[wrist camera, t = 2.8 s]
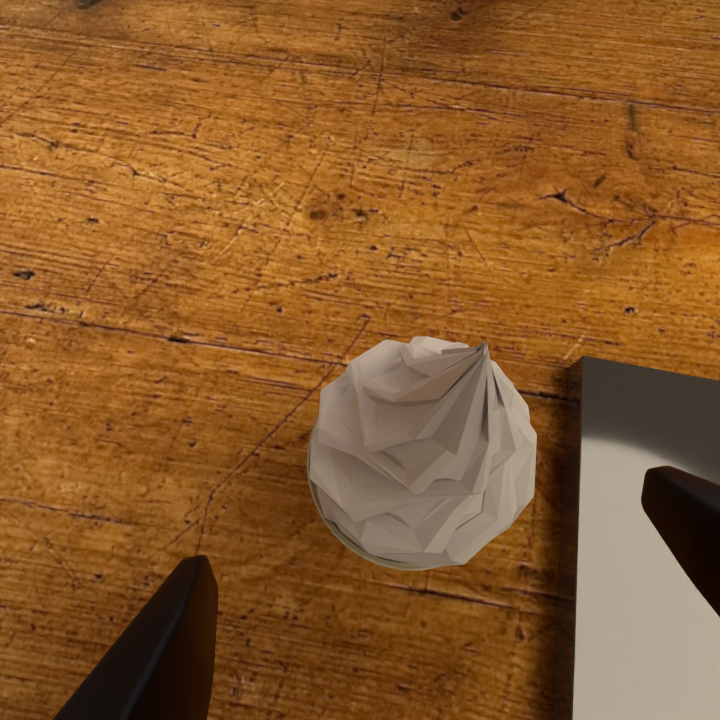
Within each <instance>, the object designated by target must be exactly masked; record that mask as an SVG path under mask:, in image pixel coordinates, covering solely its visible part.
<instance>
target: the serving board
mask: <svg viewBox="0 0 720 720" xmlns="http://www.w3.org/2000/svg"><path fill="white" fill-rule="evenodd" d="M665 465H668V466H672V467H675V468H677V469H680V470H683V471H685V472H688V473H690V474H693V475H696V476H698V477H701V478H703V479H706V480H709V481H711V482H714V483H716V484H719V485H720V381H717V380H712V379H706V378H701V377H696V376H690V375H685V374H680V373H674V372H669V371H663V370H658V369H653V368H647V367H642V366H637V365H631V364H626V363H621V362H615V361H610V360H604V359H599V358H594V357H588V356H582V357H581V358H579V359H578V360H577V361H576V362H574V363H573V364H572V365H571V366H570V367H569V368H568V386H567V409H566V431H565V453H564V476H563V498H562V521H561V543H560V566H559V588H558V611H557V633H556V655H555V678H554V700H553V720H720V617H719V616H718V615H717V613H716V612H715V611H714V610H713V608H712V607H711V606H710V605H709V603H708V602H707V601H706V600H705V598H704V597H703V596H702V595H701V593H700V592H699V591H698V590H697V588H696V587H695V586H694V584H693V583H692V582H691V580H690V579H689V578H688V576H687V575H686V573H685V572H684V570H683V569H682V568H681V566H680V565H679V563H678V562H677V560H676V559H675V557H674V556H673V554H672V553H671V551H670V549H669V548H668V546H667V545H666V543H665V542H664V540H663V539H662V537H661V536H660V534H659V533H658V531H657V530H656V528H655V527H654V525H653V524H652V522H651V521H650V519H649V518H648V516H647V515H646V513H645V512H644V510H643V507H642V504H641V495H642V489H643V483H644V477H645V473H646V471H647V470H648V469H650V468H654V467H659V466H665Z"/></svg>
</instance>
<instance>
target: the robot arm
mask: <svg viewBox="0 0 720 720" xmlns="http://www.w3.org/2000/svg"><path fill="white" fill-rule="evenodd" d="M641 504H642V507H643V510H644V512H645V513H646V515H647V516H648V518H649V519H650V521H651V522H652V524H653V525H654V527H655V528H656V530H657V531H658V533H659V534H660V536H661V537H662V539H663V540H664V542H665V543H666V545H667V546H668V548H669V549H670V551H671V553H672V554H673V556H674V557H675V559H676V560H677V562H678V563H679V565H680V566H681V568H682V569H683V570H684V572H685V573H686V575H687V576H688V578H689V579H690V580H691V582H692V583H693V584H694V586H695V587H696V588H697V590H698V591H699V592H700V593H701V595H702V596H703V597H704V598H705V600H706V601H707V602H708V603H709V605H710V606H711V607H712V608H713V610H714V611H715V612H716V613H717V615H718V616H719V617H720V485H719V484H716V483H714V482H711V481H709V480H706V479H703V478H701V477H698V476H696V475H693V474H690V473H688V472H685V471H683V470H680V469H677V468H675V467H672V466H668V465H665V466H659V467H654V468H650V469H648V470H647V471H646V473H645V477H644V483H643V489H642V495H641ZM217 609H218V586H217V582H216V579H215V577H214V574H213V571H212V568H211V566H210V563H209V560H208V558H207V557H206V556H205V555H196V556H191V557H186V558H184V559H183V560H181V562H180V563H179V564H178V565H177V566H176V568H175V569H174V570H173V571H172V573H171V574H170V575H169V576H168V578H167V579H166V580H165V581H164V582H163V584H162V585H161V586H160V587H159V589H158V590H157V591H156V592H155V594H154V595H153V596H152V597H151V599H150V600H149V601H148V602H147V603H146V605H145V606H144V607H143V608H142V610H141V611H140V612H139V613H138V615H137V616H136V617H135V618H134V619H133V621H132V622H131V623H130V624H129V626H128V627H127V628H126V629H125V631H124V632H123V633H122V634H121V636H120V637H119V638H118V639H117V640H116V642H115V643H114V644H113V645H112V647H111V648H110V649H109V650H108V652H107V653H106V654H105V655H104V657H103V658H102V659H101V660H100V661H99V663H98V664H97V665H96V666H95V668H94V669H93V670H92V671H91V673H90V674H89V675H88V676H87V678H86V679H85V680H84V681H83V682H82V684H81V685H80V686H79V687H78V689H77V690H76V691H75V692H74V694H73V695H72V696H71V697H70V699H69V700H68V701H67V702H66V703H65V705H64V706H63V707H62V708H61V710H60V711H59V712H58V713H57V715H56V716H55V717H54V718H53V720H207V715H208V709H209V703H210V697H211V690H212V683H213V673H214V658H215V642H216V626H217Z"/></svg>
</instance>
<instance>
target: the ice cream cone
mask: <svg viewBox="0 0 720 720" xmlns="http://www.w3.org/2000/svg"><path fill="white" fill-rule="evenodd" d="M345 370H346V372H345V373H343V374H342V375H341V376H339V377H338V378H337V379H335V380H334V381H332V382H331V383H330V384H328V385H327V386H326V387H324V388H323V389H322V390H321V394H320V411H319V415H318V417H317V420H316V422H315V424H314V427H313V429H312V431H311V436H310V440H309V444H308V448H307V464H306V467H307V476H308V484H309V488H310V491H311V495H312V498H313V502H314V504H315V506H316V508H317V510H318V512H319V514H320V516H321V518H322V520H323V521H324V522H325V524H326V525H327V527H328V528H329V529H330V531H331V532H332V533H333V535H334V536H335V537H336V538H337V539H339V540H340V541H341V542H342V543H343V544H344V545H345V546H346V547H347V548H348V549H350V550H351V551H353V552H354V553H356V554H357V555H359V556H360V557H362V558H363V559H366V560H368V561H370V562H373V563H375V564H378V565H380V566H383V567H388V568H392V569H397V570H411V571H421V570H427V569H432V568H438V567H442V566H453V565H464V564H465V563H466V562H468V561H469V560H470V559H471V558H472V557H473V556H474V555H475V554H476V553H477V552H478V551H480V550H481V549H482V548H483V547H484V546H485V545H486V544H487V543H488V542H489V541H490V540H492V539H493V538H495V537H496V536H498V535H499V534H501V533H502V532H504V531H505V530H507V529H508V528H509V527H510V526H511V525H512V523H513V522H514V521H515V520H516V518H517V517H518V516H519V514H520V513H521V512H522V511H523V509H524V508H525V507H526V506H527V504H528V503H529V502H530V500H531V499H532V498H533V497H534V488H535V465H536V443H537V434H536V432H535V431H534V429H533V428H532V426H531V425H530V416H529V409H528V405H527V404H526V402H525V401H524V400H523V398H522V397H521V396H520V394H519V393H518V392H517V390H516V389H515V388H514V384H513V383H512V382H511V381H510V380H509V379H508V378H507V377H506V376H505V374H504V373H503V372H502V370H501V369H500V367H499V366H498V365H497V363H496V362H495V361H491V360H490V356H489V350H488V347H487V342H486V344H485V345H484V342H483V341H482V343H481V345H479V346H477V347H469V346H468V344H465V343H460V342H456V343H452V342H448V341H444V340H440V339H436V338H432V337H413V339H412V340H411V342H410V343H409V344H406V343H401V342H398V341H393V340H384V341H383V342H381V343H380V344H378V345H376V346H375V347H373V348H371V349H370V350H368V351H366V352H365V353H363V354H361V355H360V356H358V357H357V358H355V359H353V360H352V361H350V363H349V364H348V366H347V368H346V369H345Z"/></svg>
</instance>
